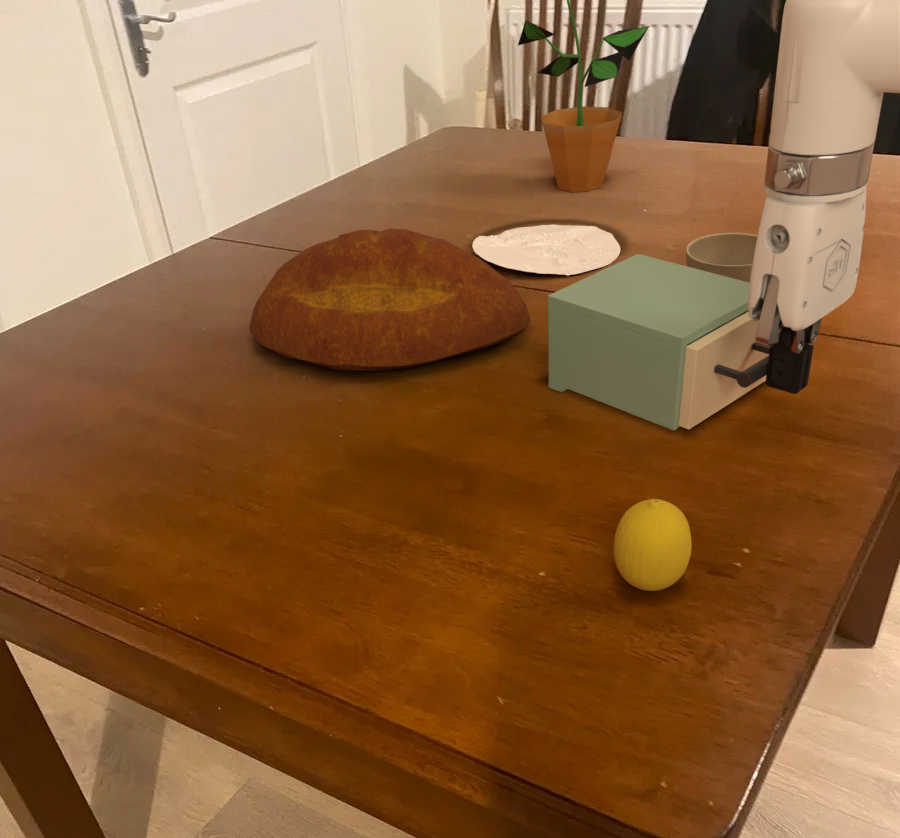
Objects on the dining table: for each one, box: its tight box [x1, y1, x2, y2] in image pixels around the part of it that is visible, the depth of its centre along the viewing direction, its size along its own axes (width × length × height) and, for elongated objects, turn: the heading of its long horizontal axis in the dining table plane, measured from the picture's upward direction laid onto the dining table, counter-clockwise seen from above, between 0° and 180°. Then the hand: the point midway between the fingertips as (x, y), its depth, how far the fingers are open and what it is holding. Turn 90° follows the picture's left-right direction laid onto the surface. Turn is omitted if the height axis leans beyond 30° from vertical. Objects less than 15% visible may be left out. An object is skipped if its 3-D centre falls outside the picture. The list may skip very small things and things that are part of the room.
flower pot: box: [685, 232, 758, 283], centre depth 104 cm, size 10×10×7 cm
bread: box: [248, 227, 532, 372], centre depth 103 cm, size 21×33×12 cm, turn 80°
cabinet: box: [547, 253, 750, 431], centre depth 90 cm, size 16×14×10 cm
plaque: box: [472, 223, 621, 277], centre depth 125 cm, size 20×20×2 cm
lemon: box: [612, 498, 693, 592], centre depth 67 cm, size 6×6×8 cm
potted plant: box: [517, 0, 650, 193], centre depth 137 cm, size 18×19×30 cm
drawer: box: [679, 311, 770, 431], centre depth 88 cm, size 18×13×8 cm
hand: (786, 386), depth 82 cm, fingers closed
